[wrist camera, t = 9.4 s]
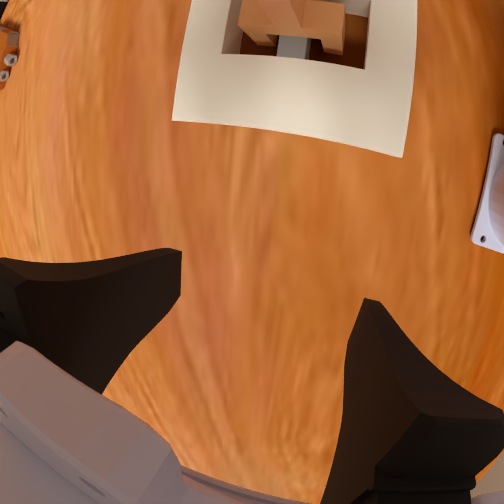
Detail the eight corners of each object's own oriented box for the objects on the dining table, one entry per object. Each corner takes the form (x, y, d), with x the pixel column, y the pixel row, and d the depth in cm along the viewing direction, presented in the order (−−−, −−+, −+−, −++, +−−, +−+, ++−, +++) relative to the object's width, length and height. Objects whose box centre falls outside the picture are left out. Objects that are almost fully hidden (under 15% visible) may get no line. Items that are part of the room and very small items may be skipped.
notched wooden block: (345, 30, 14) (342, -33, 7) (342, 55, 15) (339, 1, 8) (262, 21, 16) (214, -35, 8) (258, 45, 16) (207, -3, 9)
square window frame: (408, -20, 12) (415, -39, 9) (393, 155, 17) (402, 157, 14) (221, -35, 15) (205, -52, 12) (193, 122, 20) (171, 120, 17)
